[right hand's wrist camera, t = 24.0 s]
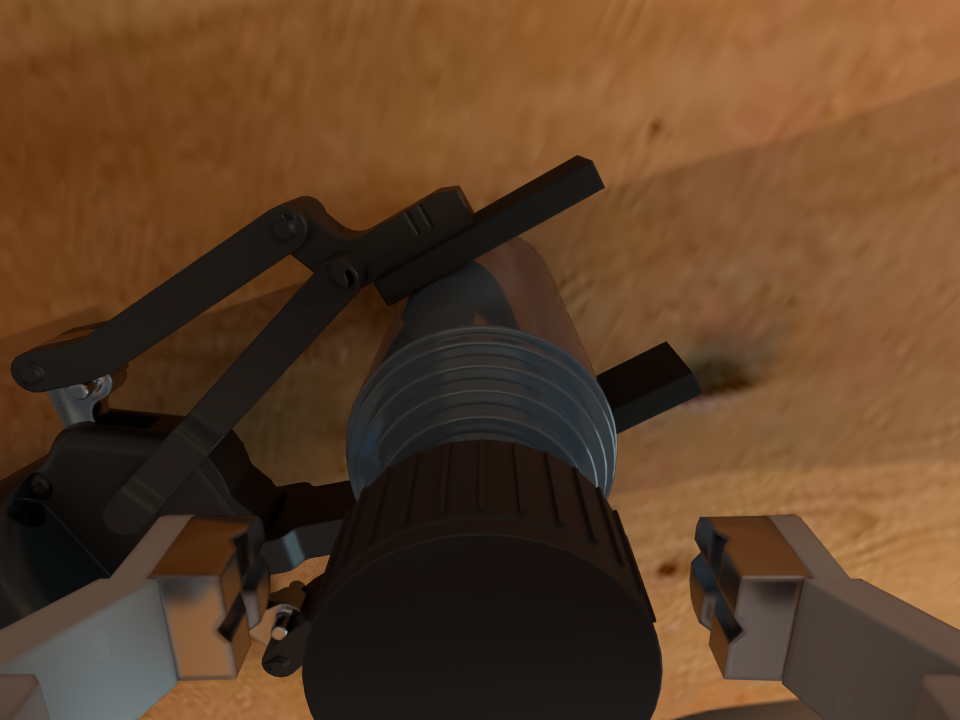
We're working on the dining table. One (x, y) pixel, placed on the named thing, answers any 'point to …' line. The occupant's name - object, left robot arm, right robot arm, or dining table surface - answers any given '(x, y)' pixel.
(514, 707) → the cap
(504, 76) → the dining table surface
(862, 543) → the dining table surface
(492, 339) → the bottle
